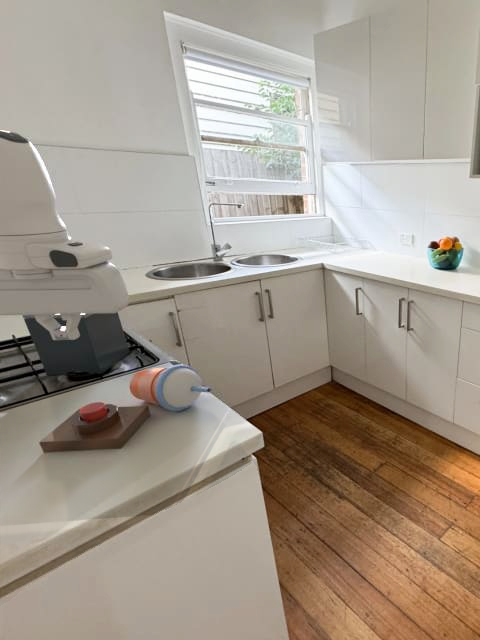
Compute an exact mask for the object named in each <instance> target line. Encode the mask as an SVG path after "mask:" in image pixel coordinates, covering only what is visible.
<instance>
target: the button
mask: <svg viewBox="0 0 480 640" xmlns="http://www.w3.org/2000/svg"><path fill="white" fill-rule="evenodd" d="M105 404H106V403H105V402H102V401H96V402H91V403H88V404H85V405H84V406H82V407H80V408H81V409H80V408H79V409H80V410H79V409H78V410H79V413H80V415H81V418H82V420H83V421H92V420H96V419H99V418H101V417H103V416H105V415H106V414H107V413H108V411H107V408H106V405H105Z"/></svg>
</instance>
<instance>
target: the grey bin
mask: <svg viewBox="0 0 480 640" xmlns="http://www.w3.org/2000/svg"><path fill="white" fill-rule="evenodd" d="M54 319H55V320H56V321H57V322H58V323H59V324H60V325H61V327H66V323H67V320H62V318H54ZM23 320H24V324H25V325H26V328H27V331H28V333H29V335H30V338H31V340H32V343H33V345H34V347H35V350H36V352H37V355H38V357H39V360H40V363H41V365H42V367H43V369H44V372H45V375H46V376H68V375H69V376H70V375H75V374H67V373H68V372H71V371H84V372H89V373H90V374H89V375H101V374H103V373H105V372H106V371H107V370H109V369H110V368H112V367H113V366H114V365H116V364H117V363H118V362H120V360H122V359H123V358H125V357H126V356H128V354H130V349H129V346H128V341H127V339H126V335H125V332H124V328H123V325H122V322H121V318H120V315H119V312H117V313H99V314H92V315H90V316H88V317H86V318H81V319H80V322H79V324H78V326H77V328H78V331H79V333H80V337H79V338H77V339H75V340H53V339H52V337H51V334H50V332H49V331H48V330H47V329H46V328H44V327H43V326H42V325H41V324H40V323H38V322H37V321H36V318H23ZM93 373H94V374H93ZM95 373H97V374H95Z"/></svg>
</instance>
